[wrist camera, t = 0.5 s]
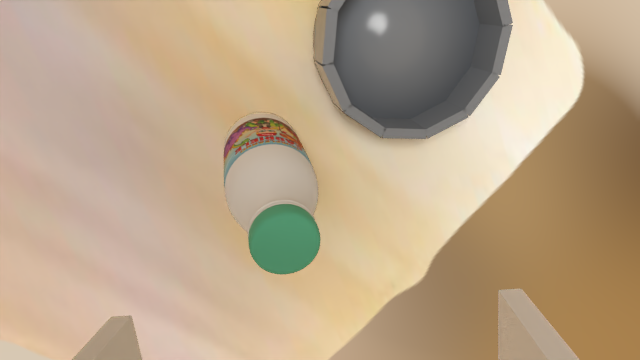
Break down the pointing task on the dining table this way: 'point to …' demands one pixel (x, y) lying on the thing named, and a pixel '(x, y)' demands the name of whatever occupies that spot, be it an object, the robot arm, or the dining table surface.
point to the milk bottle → (272, 192)
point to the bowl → (410, 60)
